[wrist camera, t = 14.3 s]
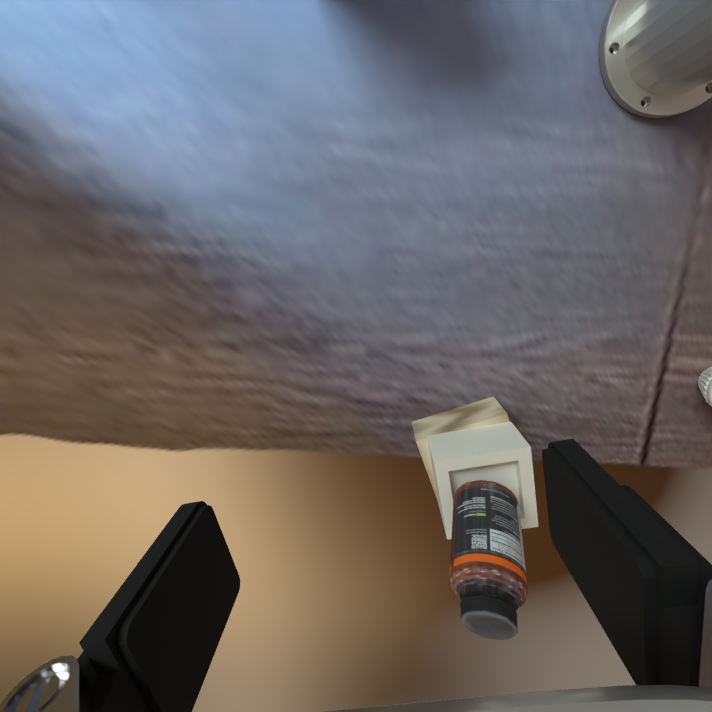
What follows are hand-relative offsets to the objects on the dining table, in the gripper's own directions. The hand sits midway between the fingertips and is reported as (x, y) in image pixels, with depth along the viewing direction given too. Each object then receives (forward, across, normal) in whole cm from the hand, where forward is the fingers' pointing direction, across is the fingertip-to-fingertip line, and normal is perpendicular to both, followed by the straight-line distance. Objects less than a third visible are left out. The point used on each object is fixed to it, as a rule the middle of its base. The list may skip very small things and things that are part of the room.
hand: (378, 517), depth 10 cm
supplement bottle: (+23, -7, +18) cm, 31 cm away
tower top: (+28, -7, +18) cm, 34 cm away
